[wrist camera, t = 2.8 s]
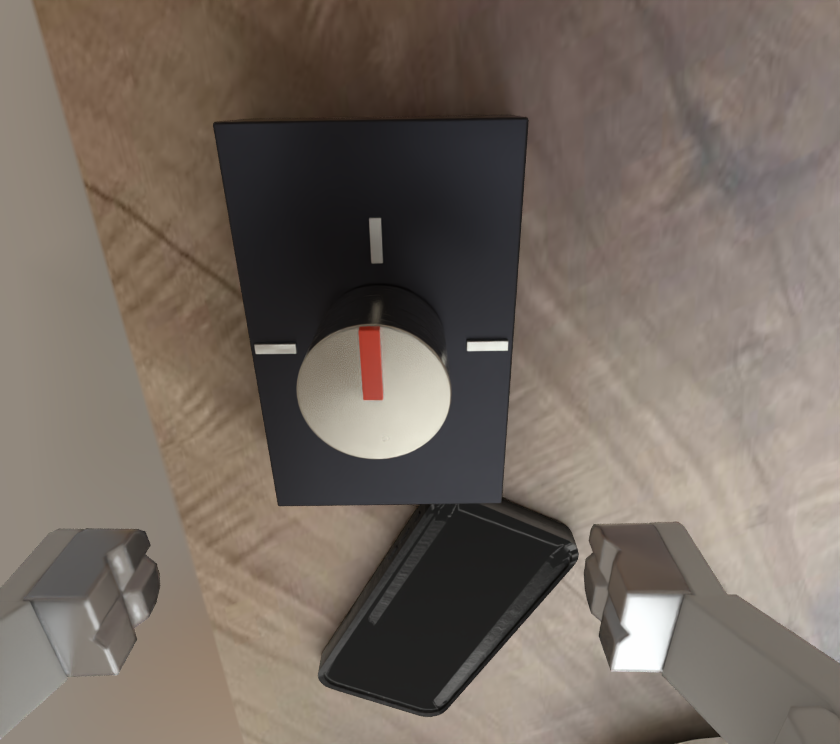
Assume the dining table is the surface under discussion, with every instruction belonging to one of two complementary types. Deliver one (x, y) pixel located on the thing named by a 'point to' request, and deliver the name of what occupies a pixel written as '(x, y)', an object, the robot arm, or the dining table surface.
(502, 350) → the panel
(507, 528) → the phone
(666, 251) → the dining table surface
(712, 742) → the bowl
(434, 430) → the knob
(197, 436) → the dining table surface
